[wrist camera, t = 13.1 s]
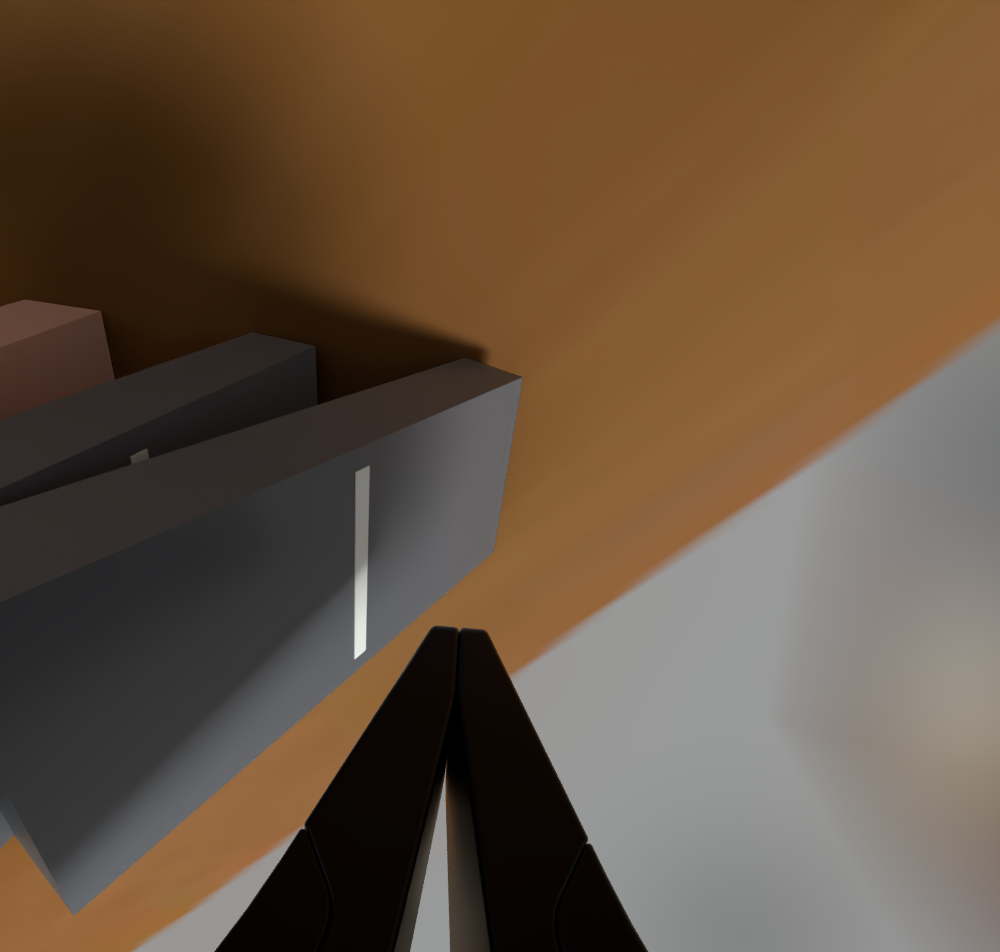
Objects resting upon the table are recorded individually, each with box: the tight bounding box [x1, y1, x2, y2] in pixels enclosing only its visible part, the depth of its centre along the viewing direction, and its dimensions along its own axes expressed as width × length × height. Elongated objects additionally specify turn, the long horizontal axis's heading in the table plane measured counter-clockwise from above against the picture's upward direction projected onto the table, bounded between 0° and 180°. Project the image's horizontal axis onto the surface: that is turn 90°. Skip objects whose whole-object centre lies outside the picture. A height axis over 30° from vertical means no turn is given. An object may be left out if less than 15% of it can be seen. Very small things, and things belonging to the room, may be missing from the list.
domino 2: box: [0, 358, 523, 915], centre depth 10 cm, size 2×5×10 cm
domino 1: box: [0, 332, 317, 849], centre depth 9 cm, size 2×5×10 cm, turn 171°
